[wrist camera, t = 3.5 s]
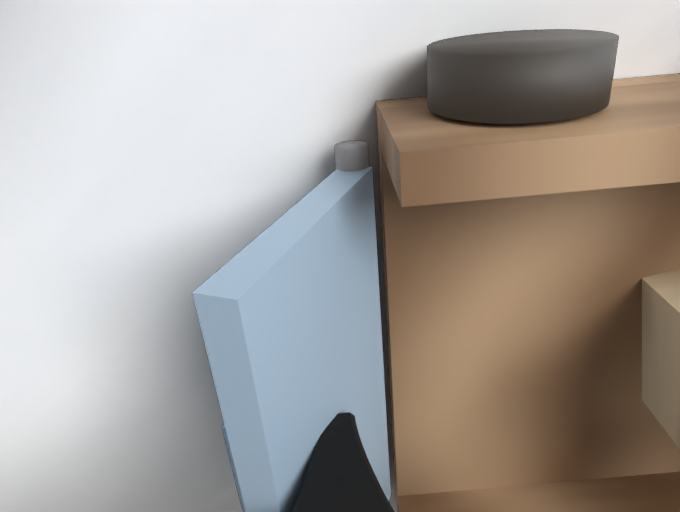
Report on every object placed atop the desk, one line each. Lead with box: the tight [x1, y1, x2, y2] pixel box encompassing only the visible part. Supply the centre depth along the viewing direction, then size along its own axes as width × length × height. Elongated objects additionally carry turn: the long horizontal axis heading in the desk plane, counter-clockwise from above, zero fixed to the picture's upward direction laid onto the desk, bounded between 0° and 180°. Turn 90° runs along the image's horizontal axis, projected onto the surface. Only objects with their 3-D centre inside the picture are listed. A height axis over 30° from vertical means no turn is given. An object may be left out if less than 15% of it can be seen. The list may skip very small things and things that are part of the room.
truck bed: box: [376, 29, 680, 512], centre depth 14 cm, size 14×17×4 cm
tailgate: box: [192, 141, 391, 512], centre depth 13 cm, size 1×12×6 cm, turn 5°
